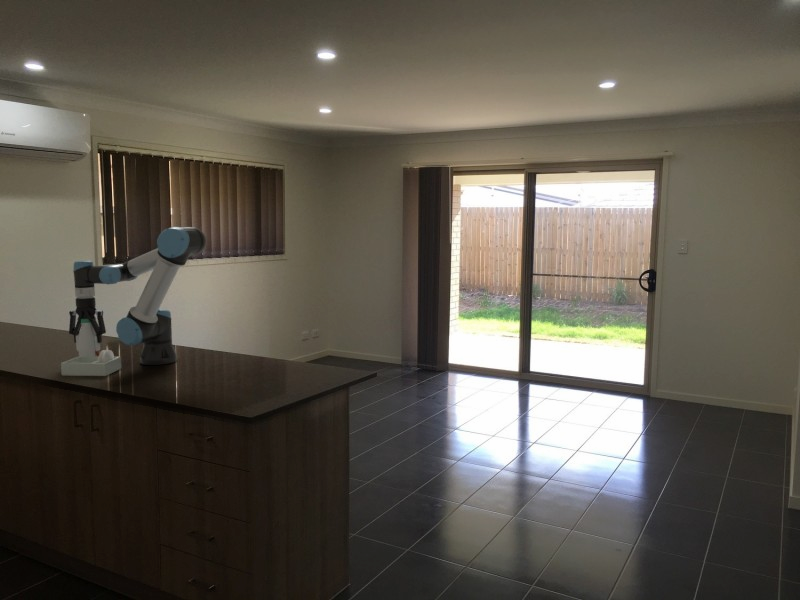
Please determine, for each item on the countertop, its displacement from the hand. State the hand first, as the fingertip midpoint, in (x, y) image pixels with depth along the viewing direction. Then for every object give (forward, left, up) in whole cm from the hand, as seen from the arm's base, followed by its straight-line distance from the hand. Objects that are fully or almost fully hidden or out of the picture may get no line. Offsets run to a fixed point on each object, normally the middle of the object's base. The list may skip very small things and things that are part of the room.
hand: (88, 350), depth 277 cm
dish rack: (+12, +8, -6) cm, 16 cm away
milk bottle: (0, 0, -6) cm, 6 cm away
